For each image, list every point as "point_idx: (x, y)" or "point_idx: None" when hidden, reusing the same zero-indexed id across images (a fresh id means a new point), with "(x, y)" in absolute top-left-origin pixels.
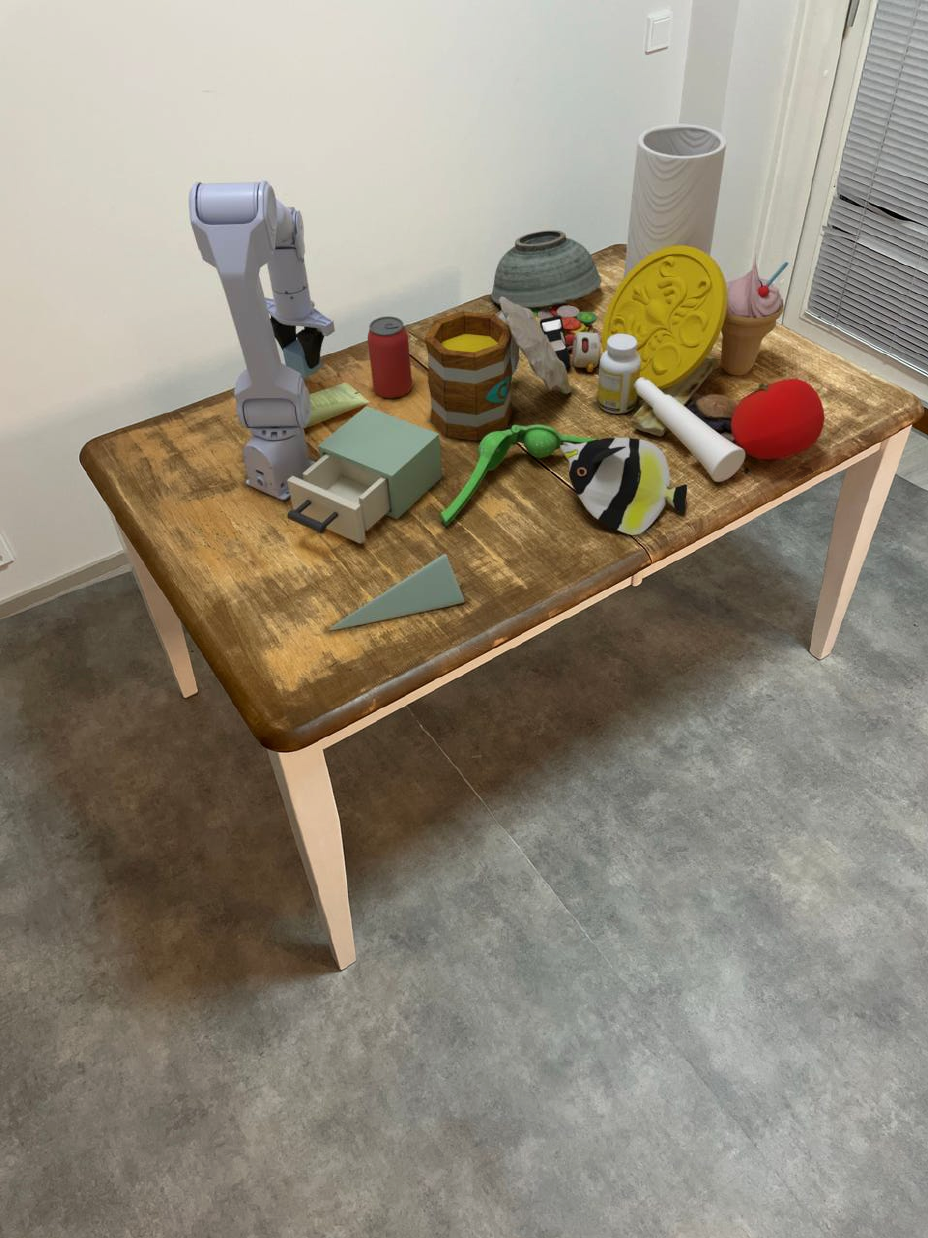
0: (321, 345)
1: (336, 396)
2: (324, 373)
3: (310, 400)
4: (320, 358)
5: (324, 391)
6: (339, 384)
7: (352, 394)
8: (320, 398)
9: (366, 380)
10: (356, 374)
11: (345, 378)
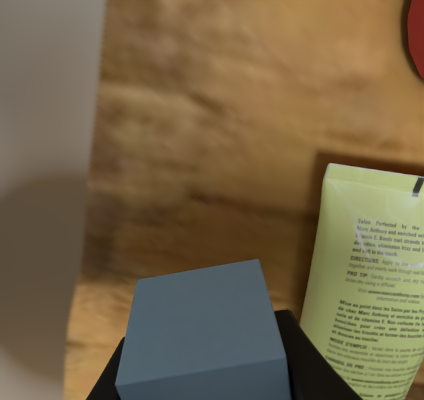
0: (348, 385)
1: (418, 297)
2: (149, 136)
3: (381, 393)
4: (267, 289)
5: (361, 312)
6: (333, 208)
7: (420, 211)
8: (393, 357)
9: (338, 45)
10: (266, 42)
11: (249, 100)
